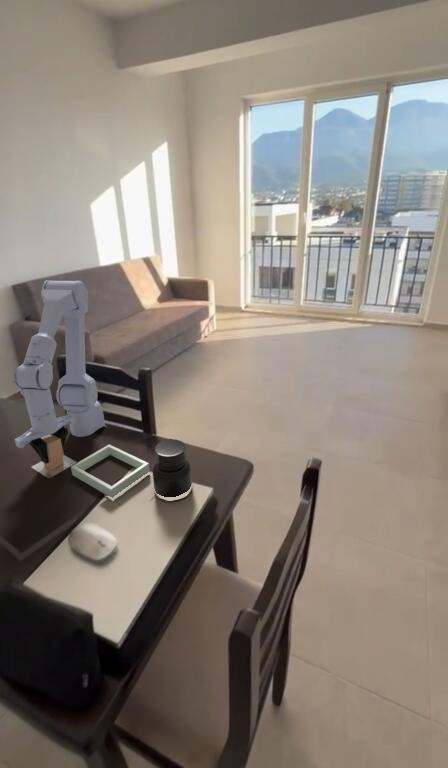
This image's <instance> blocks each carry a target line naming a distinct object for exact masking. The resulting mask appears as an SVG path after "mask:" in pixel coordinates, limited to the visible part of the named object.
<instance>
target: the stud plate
mask: <svg viewBox="0 0 448 768" xmlns="http://www.w3.org/2000/svg"><path fill="white" fill-rule="evenodd" d="M62 457H63V461H64V463H63V464H62V465H60V466H58V467H56V468H55V469H53V470H51V469H50V468H48V467H46V466H45V465H44V462H42V460H41V461H40V462H38V463H36V464H34V465H32V466H30V468H32V469H33V470H35V471H36V472H38V473H39V474H41V475H42V476H44V477H46V478H47V479H50V478H53V477H54V476H56V475H59V474H60V473H61V472H63V471H64V470H67V469H68V468H71V466H73V465H75V464H76V463H78V462H77V461H76V460H74V459H72V458H70V457H68V456H67V455H65V454H64V456H62Z"/></svg>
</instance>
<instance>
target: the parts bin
mask: <svg viewBox="0 0 448 768" xmlns="http://www.w3.org/2000/svg"><path fill="white" fill-rule="evenodd" d="M109 456H112V457H113V458H116V459H118V460H120V461H122V462H123V463H126V464H128V465H130V466H131V467H134V468H136V469H134V470H133V471H132V472H130V473H129V474H127V475H126V476H125V477H122V479H120V480H118V481H117V482H116V483H114V484H113V485H110V484H109V483H107V482H105V481H103V480H101V479H100V478H97V477H95V476H94V475H92V474H90V473H88V472H86V471H85V470H87V469H90V468H91V467H93V466H94V465H96V464H97V463H99V462H101V461H102V460H104V459H106V458H108V457H109ZM70 470H71V473H72V475H71V476H74V477H75V478H76V479H78V480H80V481H82V482H83V483H85V484H87V485H89V486H90V487H92V488H94V489H96V490H98V491H99V492H101V493H102V494H104V495H103V497H104V496H110V497H112V498H113V497H114V496H115V495H117V494H118V493H119V492H121V491H122V490H123V489H125V488H126V487H128V486H129V485H131V484H132V483H133V482H135V481H136V480H138V479H139V478H141V477H142V476H143V475H145V474H147V473H148V472H150V471H151V470H150V463H149V462H147V461H145V460H143V459H140V458H139V457H137V456H134V455H132V454H130V453H128V452H126V451H125V450H122V449H120V448H118V447H115V446H113V445H111V444H107V445H105V446H104V447H102V448H100V449H98V450H97V451H96V452H94V453H92V454H90V455H89V456H87V457H85V458H83V459H82V460H80V461H78V462H77V463H75V464H73V465H72V466H70ZM150 473H151V472H150Z"/></svg>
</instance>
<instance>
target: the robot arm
mask: <svg viewBox="0 0 448 768" xmlns="http://www.w3.org/2000/svg"><path fill="white" fill-rule="evenodd" d="M40 297H41V299H42V301H43V309H42V314H41V319H40V322H39V323H40V324H39V328H38V332H37V333H36V334H34V335H33V336H31V338H30V342H29V344H28V348H27V350H26V353H25V357H24V361H23V362H22V364H21V365H19V366H17V367H16V369H15V370H14V380H13V383H14V386H15V387H16V388H18V390H19V392H20V395H22V396H23V397H24V400H25V405H26V410H27V412H28V413H27V414H28V417H29V421H30V424H31V428H29V429H28V430H27V431H26V432H24V433H23V434H21V435H19V436H18V437H16V438H14V442H15V445H16V447H17V448H19V449H23V448H25V446H26V445H29V446H31V448H32V449H34V451H35V452H36V454H37V455H38V457H39V458H40V460H41V461H42V462H44V463H45V464H47V463H49V459H48V455H47V443H46V442H44V441H43V439H41V437H44V436H47V435H50V434H52V435H54V436H56V437H58V438H60V439H61V444H62V448H63V449H64V447H65V442H66V439H67V436H68V435H69V430H70V434H71V435H72V436H74V437H78V438H79V437H81V438H82V437H87V436H91V435H92V434H94V433H95V432H96V431H98V430H99V429H101V428H103V427H106V428H107V426H106V422H105V416H104V411H103V406H102V405H101V403H100V402H99V401H98V397H99V396H98V390H97V385H96V380H95V379H94V378H93V377H91V376H90V375H89V374H88V373H86V339H85V336H86V334H85V330H86V329H85V314H87V313H89V291H88V289H87V287H86V285H85V283H84V282H83V281H82V280H52V279H51V280H49V279H46V280H45V281H44V282H43V284H42V286H41V292H40ZM62 318H64V338H65V339H64V342H65V346H64V347H65V375H63V376H62V377H60V379H59V380H58V381H57V382H58V385H57V390H56V395H55V397H56V401H57V403H58V404H59V406H62V408H63V410H66V414H65V415H63V416H60V417H57V414H56V411H55V406H54V401H53V397H52V392H51V388H50V387H51V386H52V383H53V378H54V373H53V370H54V369H53V368H54V366H53V365H52V363H53V359H54V356H55V353H56V349H57V345H58V344H57V342H56V340H55V338H54V337H55V336H56V333H57V330H58V329H59V325H60V323H61V321H62ZM67 425H69V430H68V429H67V428H65V426H67Z"/></svg>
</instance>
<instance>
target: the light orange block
mask: <svg viewBox="0 0 448 768" xmlns="http://www.w3.org/2000/svg"><path fill="white" fill-rule="evenodd" d="M41 439H43V441H44V442H46V443H47V455H48V459H49V463H47V464H45V463H44V465H45V466H46V467H48V468H50V469H51V470H53V469H55V468H56V467H58V466H60V465H62V464H63V463H64V461H63V457H62V456H64V455H65V454H64V448H62V444H61V439H60V438H58V437H56V436H54V435H52V434H50V435H47V436H44V437H41Z"/></svg>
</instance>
